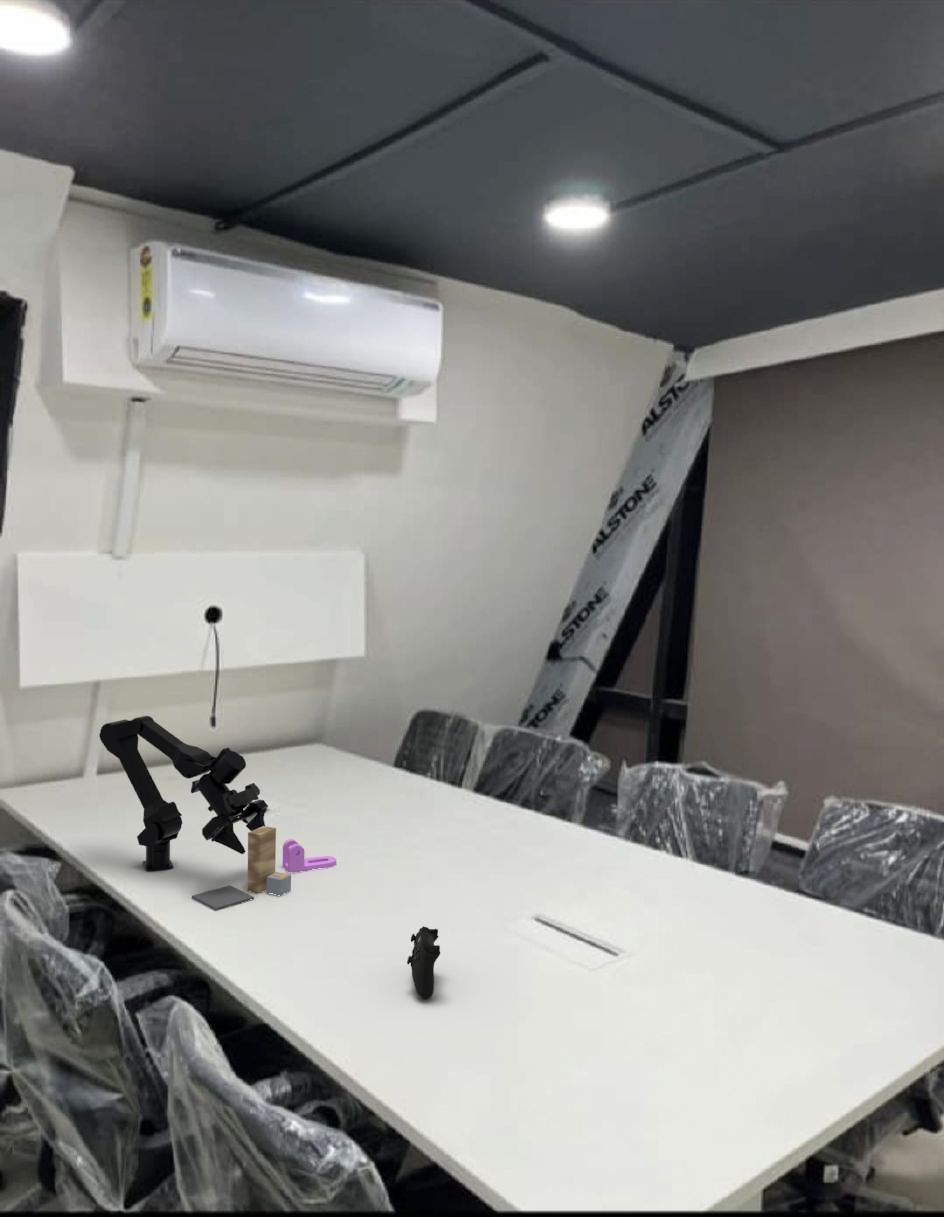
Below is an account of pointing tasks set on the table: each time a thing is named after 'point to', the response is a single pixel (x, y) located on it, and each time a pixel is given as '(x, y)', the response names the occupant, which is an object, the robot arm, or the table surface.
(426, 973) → the gaming controller
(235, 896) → the charcoal mat
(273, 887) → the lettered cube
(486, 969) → the table surface
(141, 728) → the robot arm
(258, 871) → the wooden block
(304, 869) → the bracket
